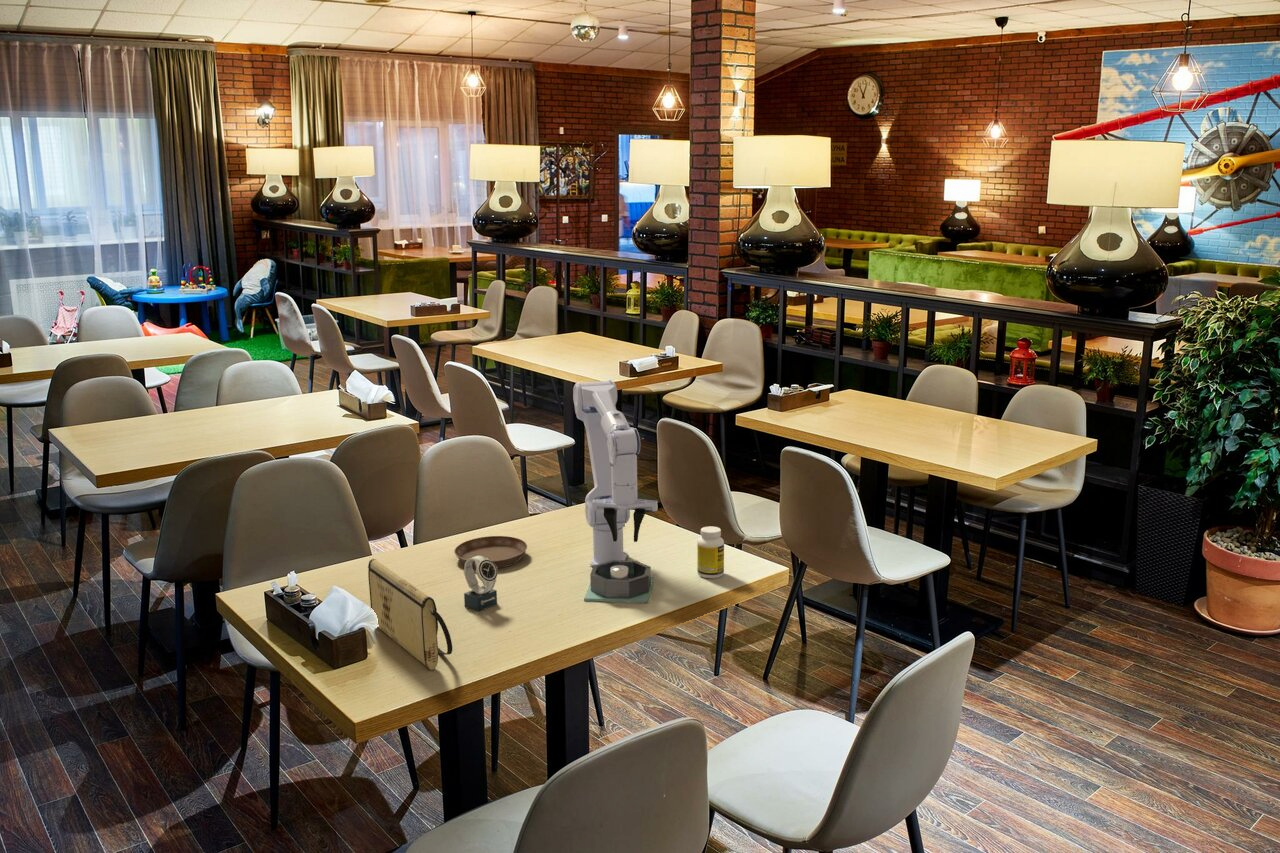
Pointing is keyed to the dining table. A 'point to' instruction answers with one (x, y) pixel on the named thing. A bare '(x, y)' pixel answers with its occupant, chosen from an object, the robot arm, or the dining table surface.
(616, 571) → the post
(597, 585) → the gunmetal ring
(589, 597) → the teal board
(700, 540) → the pill bottle
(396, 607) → the clutch purse
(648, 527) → the dining table surface
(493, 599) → the watch
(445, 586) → the dining table surface
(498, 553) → the plant saucer
